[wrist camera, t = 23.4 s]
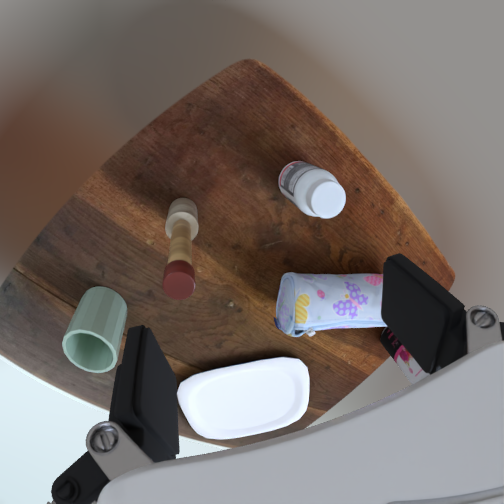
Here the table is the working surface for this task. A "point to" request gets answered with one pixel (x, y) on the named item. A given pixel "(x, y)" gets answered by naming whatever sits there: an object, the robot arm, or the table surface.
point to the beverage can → (402, 357)
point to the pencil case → (328, 302)
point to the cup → (96, 330)
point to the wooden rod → (180, 249)
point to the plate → (245, 397)
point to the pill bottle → (312, 189)
